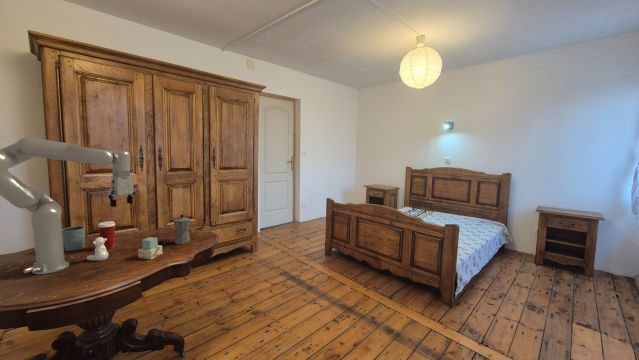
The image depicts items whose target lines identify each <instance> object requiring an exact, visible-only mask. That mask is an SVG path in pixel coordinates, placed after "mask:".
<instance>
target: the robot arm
mask: <svg viewBox="0 0 639 360" xmlns="http://www.w3.org/2000/svg"><path fill="white" fill-rule="evenodd" d="M33 158H44V159H50V160H57V161H67V162H76V163H84V164H85V163H86V164H93V165H102V166H107V165H110V164H112V172H111V175H112V177H111V180H110V188H108V190H106V191H104V192H105V195H106V197H107V198H108V199H109V200H110V201H109V205H110V207H112V208H116V207H117V197H118V196H126V203H127V204H128V205H129V204H130V205H133V204H134V202H133V200H134V199H133V198H134V196H135V194H136V192H137V188H136V187H134V181H133V177H132V175H131V153H130V152H129V151H127V150H126V151H124V150H107V149H99V148H92V147H87V146H86V147H85V146H81V145H76V144H73V143H69V142H63V141H62V142H61V141H55V140H49V139H43V138H39V137H38V138H37V137H30V136H26V137H22V138H20V139H19V140H17V142H15V143H13V144H10V145H8V146H6V147H2V148H0V196H1V197H2V198H3V199H5V200H6V201H8V202H9V203H10V204H11V205H12V206H14V207H16V208H18V209H26V210H27V211H29V212H30V213H31V215H30V216H31V218H30V219H31V220H30V221H31V226H32V234H33V241H34V249H35V250H34V251H35V253H34V254H35V261H36V262H34V263H33V265H32V266H30V267H28V268H25V269H23V270H22V271H23V273H24V274H28V273H32V274H34V275H45V274H46V275H47V274H52V273H57V272H60V271H62V270H64V269H66V268H68V267H70V262H69V261H67V260H66V259H65V246H64V241H63V235H62V229H63V226H62V214H63V209H62V207H61V205H60V204H59V203H58V202H56V201H55V200H54V199H53V198H51V197H50V196H49V195H48V194H46V193H45V192H43V191H42V190H41V189H39V188H37V187H36V186H34V185H27V184H26V183H23V181H21V180H20V179H19V178H18V177H17V176H15V175H13V174H12V173H11V172H10V171H9V169H10V168H13V167H15V166H18V165H19V164H22V163H24V162H26V161H28V160H30V159H33ZM65 260H66V261H65Z"/></svg>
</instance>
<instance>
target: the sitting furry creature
mask: <svg viewBox="0 0 639 360" xmlns="http://www.w3.org/2000/svg"><path fill="white" fill-rule="evenodd" d="M106 240H107V238H105V239H103V238H101V237H100V236H99V237H97V238H96V239H94V240H93V241H92V244H93V245H94V246H95V248H94V254H90V255H88V256H86V260H87V261H92V262H93V261H95V262H96V261H97V262H100V261H105V260H107V259H108V257H109V251H107V250H108V249H106V247H105V246H104V245H103V244H104V243H105V241H106Z"/></svg>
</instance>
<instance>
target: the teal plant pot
mask: <svg viewBox="0 0 639 360" xmlns="http://www.w3.org/2000/svg"><path fill="white" fill-rule="evenodd" d="M85 232H86V227H85V226H84V225H75V226H70V227H69V226H68V227H65V228H62V235H63V247H64V251H66V252H71V251H72V252H73V251H78V250H81V249H84V248H85V247H86V242H85V240H86V239H85V237H86V235H85Z"/></svg>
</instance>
